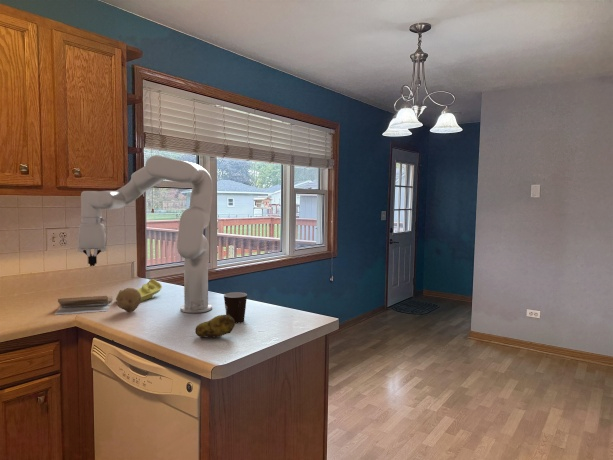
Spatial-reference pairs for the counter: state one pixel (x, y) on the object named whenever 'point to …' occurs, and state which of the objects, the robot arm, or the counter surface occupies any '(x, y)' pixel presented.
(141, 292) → the plastic component
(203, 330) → the potato
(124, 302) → the natural sponge
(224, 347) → the counter surface
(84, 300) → the plank
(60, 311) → the laid floor
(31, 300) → the counter surface
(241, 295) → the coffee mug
